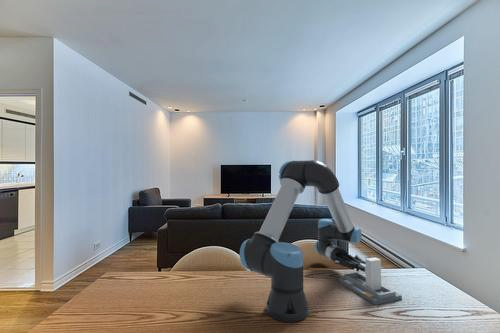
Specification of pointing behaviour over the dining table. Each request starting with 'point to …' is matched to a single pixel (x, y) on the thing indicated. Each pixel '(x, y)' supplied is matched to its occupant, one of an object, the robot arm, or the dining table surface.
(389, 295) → the switch board
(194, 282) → the dining table surface
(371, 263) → the switch tab
